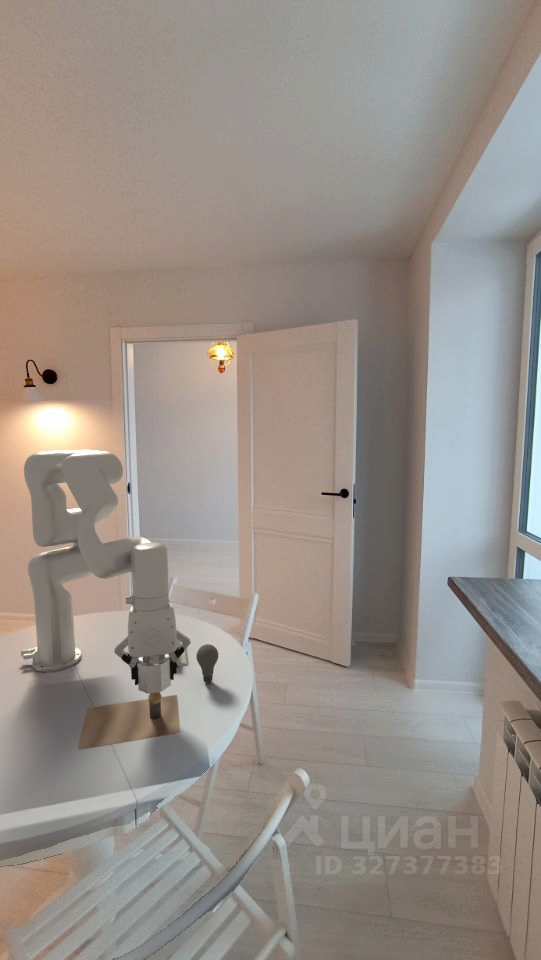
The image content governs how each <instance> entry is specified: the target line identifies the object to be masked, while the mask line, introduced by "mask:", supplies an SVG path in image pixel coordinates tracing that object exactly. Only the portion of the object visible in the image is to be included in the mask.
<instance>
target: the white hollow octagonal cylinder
mask: <svg viewBox="0 0 541 960" xmlns="http://www.w3.org/2000/svg"><path fill="white" fill-rule="evenodd" d="M137 669H138V685H137V687H138V690H137V691H140V692H142V693H145V694H148V695H149V694H150V693H157V692H160V693H162V692H164V691H165V690H167V688H169V687H171V686H172V680H171V677H170V656H169V655H168V654H163V655H155V656H148V657H139V658H138V660H137Z"/></svg>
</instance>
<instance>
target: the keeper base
mask: <svg viewBox="0 0 541 960" xmlns="http://www.w3.org/2000/svg"><path fill="white" fill-rule="evenodd" d="M180 733H181V728H180V713H179V700H178V694H174V695H167V696H162V693H161V692H157V693H150V694H148V698H145V699H139V700H133V701H127V702H118V703H111V704H105V705H99V706H92V707H87V710H86V714H85V718H84V723H83V726H82V730H81V733H80V734H81V735H80V738H79V742H78V746H77V751H78V750H85V749H90V748H91V749H92V748H98V747H103V746H110V745H115V744H122V743H127V742H132V741H138V740H145V739H146V740H147V739H151V738H157V737H164V736H168V735H175V734H180Z"/></svg>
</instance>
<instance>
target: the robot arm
mask: <svg viewBox="0 0 541 960" xmlns="http://www.w3.org/2000/svg"><path fill="white" fill-rule="evenodd" d="M123 473H124V468H123V464H122V462H121V460H120V458H118V456H117V455H115V454H114V453H113V452H111V451H110V452H109V451H101V450H93V449H92V450H91V449H80V450H79V449H77V450H76V449H74V450H73V449H72V450H51V451H50V450H49V451H47V450H46V451H39V452H36V453H33V454H31V455H29V456H28V457H27V458H26V460H25V462H24V465H23V476H24V480H25V484H26V486H27V489H28V491H29V495H30V500H31V501H30V503H31V524H32V525H31V526H32V537H33V540H34V543H35V544H36V545H37V546H39V548H53V547H58V546H63V545H68V544H72V546H66V547H63V548H57V549H52V550H46V551H42V552H40V553H37V554H35V555H34V556H33V557H31V559H30V560H29V562H28V565H27V573H28V577H29V581H30V585H31V588H32V595H33V603H34V615H35V633H36V646H34V647H33V648H22V649H21V651H20V656H21V657H22V658H23V660H30V659H32V661H31V665H32V667H31V668H33V670H36V671H38V672H44V673H46V672H47V673H48V672H49V673H51V672H57V671H61V670H65V669H67V668H70V667H71V666H73V665H75V664H77V663H79V661H80V660H81V658H82V650H81V649H80V648H78V647H76V640H75V638H76V637H75V623H74V622H75V621H74V603H73V596H72V594H71V593H70V592H69V591H68V590H67V589H66V588H65V587H64V586H63V584H66V583H68V582H71V581H76V580H79V579H82V578H86V577H88V576H90V575H92V574H93V575H94V576H95V577H96V578H99V579H105V580H106V579H110V578H115V577H117V576H121V575H124V574H127V573H131V584H132V585H131V586H132V590H131V591H132V594H131V596H129V597H125V605H131V607H130V609H129V612H128V621H127V622H128V623H127V636H126V637H125V638H124V639H123V640H122V641H121V642H120V643H118V644H117V645H116V646H115V647H114V654H115V655H117V656H118V657H119V658H120V659H121V661H122V662H124V664H127V665H128V667H129V668H130V671H131V672H130V674H131V676H130V677H131V681H134V686H138V669H137V660H138V658H139V657H148V656H155V655H163V654H168V655H169V656H170V677H171V681H173V680H174V679H175V677H174V676H175V674H176V675H177V674H178V671H177V670H178V667H176V662H177V660H178V658H179V657H180V656H181V655H182V654H183V653H184V650H185V649H186V648H187V649H188V647H189V646H190V644H191V639H190V638H189V637H188V636H187V635H185V634H183V633H182V632H181V631H180V630H178V629H177V621H176V613H175V608H174V606H173V603H172V602H171V601H170V602H169V600H170V589H169V588H170V587H169V586H170V584H169V583H170V582H169V563H168V562H169V561H168V549H167V546H166V545H165V544H164V543H161V542H156V541H155V542H154V541H151V540H150V539H148V538H147V537H145V536H141V535H137V536H136V535H135V536H131V537H126V538H122V539H117V540H112V541H109V542H104V543H103V542H102V541H101V539H100V537H99V535H98V533H97V531H96V526H95V525H96V524H98V523H99V522H100V521H102V520H103V519H105V518H106V517H108V516H109V515H111V514H112V513H113V512H114V511H115V509H116V508H117V506H118V505H119V497H118V495H117V494H116V493H115V491H114V489H113V487H112V486H111V485H115V484H117V483H119V482H120V481H121V479H122V478H123ZM60 484H66V485H67V487H68V489H69V491H70V493H71V495H72V497H73V498H74V500H75V502H76V503H77V505H78V508H70V509H68V507H67V506H68V505H67V495H66V493H65V491H64V489H63V487H61V485H60ZM177 639H178V640H179V641H181V642H182V643H181V645H180V646H179V647H178V648H177ZM126 647H127V651H128V652H127V651H125V648H126Z"/></svg>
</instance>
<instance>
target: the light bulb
mask: <svg viewBox="0 0 541 960" xmlns="http://www.w3.org/2000/svg"><path fill="white" fill-rule="evenodd" d="M196 660H197V663H198V665H199V667H200V669H201V673H202V678H203V679H202V680H203V682H204V683H206V684H209V683H211V682H212V681H213V677H214V675H213V674H214V669H215V665H216V664H217V662H218V660H219V652H218V649H217V647H215V645H212V644H209V643H208V644H203V645H201V646H200V647H199V648H198V650H197V652H196Z"/></svg>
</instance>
